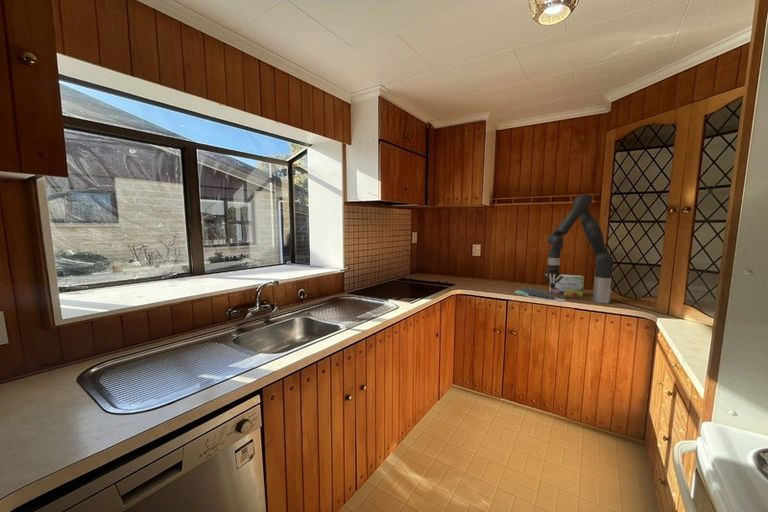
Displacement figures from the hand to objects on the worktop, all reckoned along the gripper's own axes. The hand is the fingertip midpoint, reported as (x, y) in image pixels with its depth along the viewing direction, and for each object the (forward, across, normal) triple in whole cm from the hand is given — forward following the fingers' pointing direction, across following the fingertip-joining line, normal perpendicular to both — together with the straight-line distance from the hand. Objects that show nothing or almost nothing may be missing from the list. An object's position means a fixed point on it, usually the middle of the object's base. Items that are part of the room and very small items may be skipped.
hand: (552, 288), depth 215 cm
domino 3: (+7, +7, 0) cm, 10 cm away
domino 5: (+7, -1, 0) cm, 7 cm away
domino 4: (+7, +3, 0) cm, 8 cm away
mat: (+8, +5, 0) cm, 9 cm away
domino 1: (+7, +15, 0) cm, 17 cm away
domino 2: (+7, +11, 0) cm, 13 cm away
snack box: (+8, -3, -21) cm, 23 cm away
